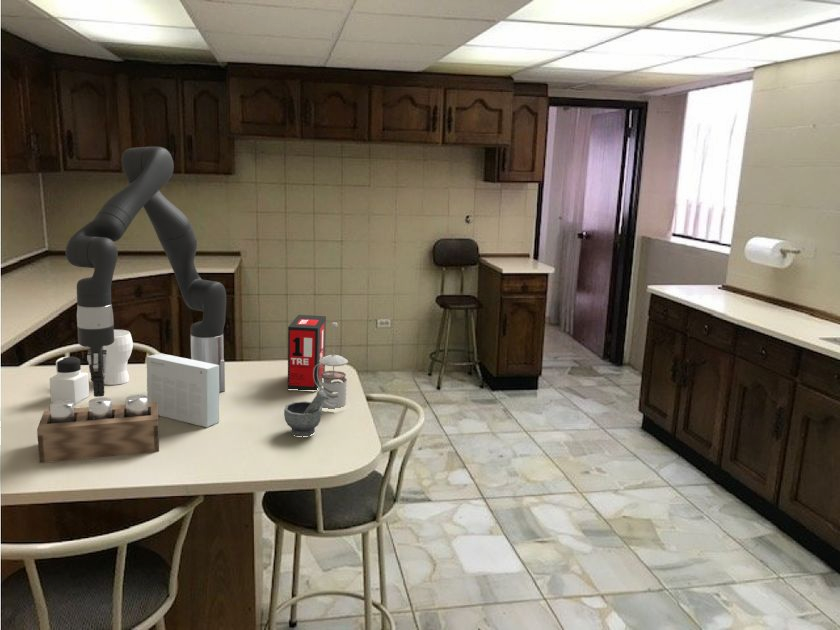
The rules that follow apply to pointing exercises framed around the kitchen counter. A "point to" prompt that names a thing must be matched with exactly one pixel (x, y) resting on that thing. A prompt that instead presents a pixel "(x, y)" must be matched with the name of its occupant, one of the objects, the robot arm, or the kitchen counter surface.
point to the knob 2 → (137, 405)
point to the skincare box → (184, 389)
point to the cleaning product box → (305, 351)
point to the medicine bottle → (69, 381)
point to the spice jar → (100, 408)
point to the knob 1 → (62, 411)
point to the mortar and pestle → (304, 415)
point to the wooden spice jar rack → (97, 435)
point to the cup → (118, 358)
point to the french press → (328, 387)
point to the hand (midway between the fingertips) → (99, 395)
